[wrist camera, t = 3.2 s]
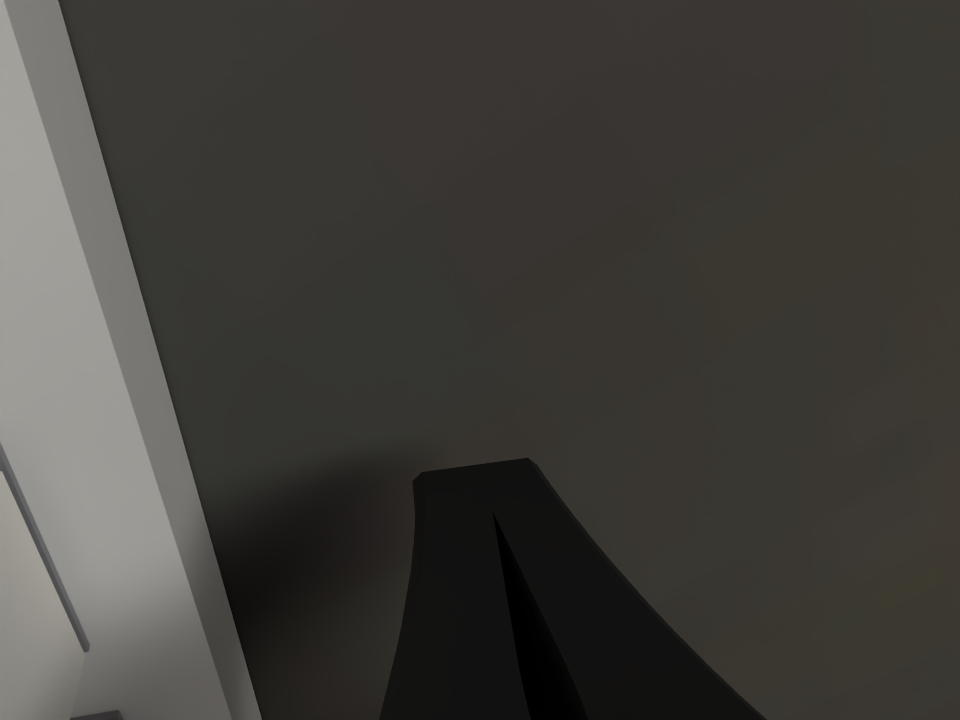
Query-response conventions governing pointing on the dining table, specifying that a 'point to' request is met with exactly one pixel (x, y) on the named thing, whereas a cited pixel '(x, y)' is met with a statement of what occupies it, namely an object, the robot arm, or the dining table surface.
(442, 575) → the robot arm
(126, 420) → the panel
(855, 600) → the dining table surface
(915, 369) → the dining table surface
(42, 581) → the switch tab mid
